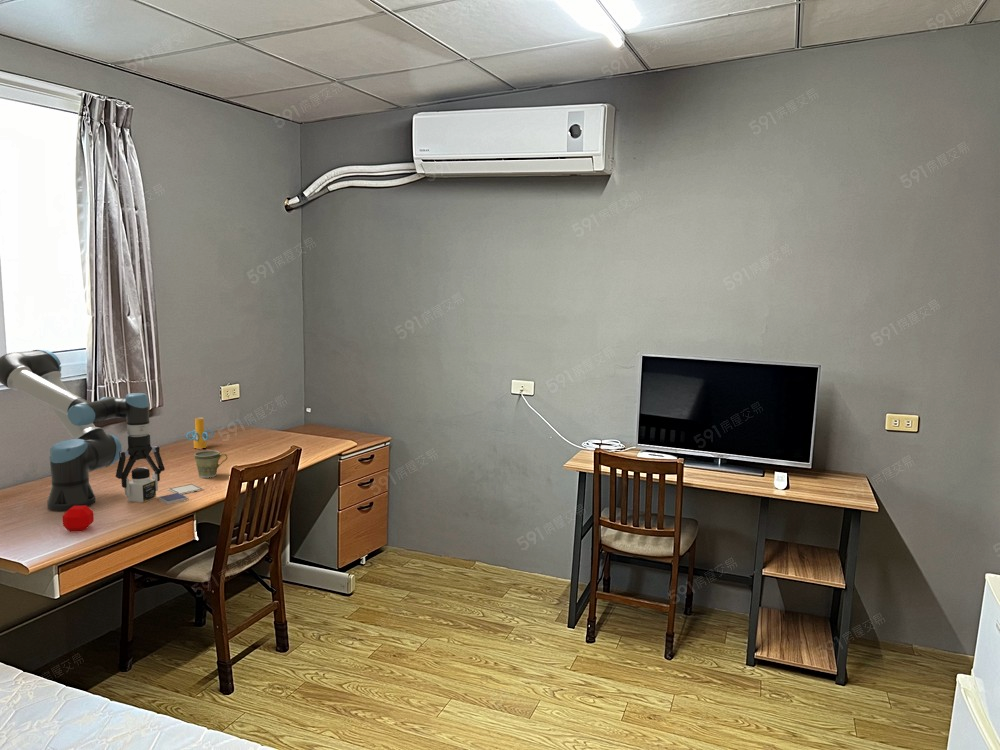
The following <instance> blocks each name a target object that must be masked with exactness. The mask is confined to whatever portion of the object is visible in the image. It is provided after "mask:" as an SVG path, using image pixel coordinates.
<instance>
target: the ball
mask: <svg viewBox="0 0 1000 750" xmlns="http://www.w3.org/2000/svg"><path fill="white" fill-rule="evenodd" d="M94 515H95V513H94V510H92V509H91V508H90V506H89V507H88V506H86V505H85V506H73V507H72V508H70V509H69V510H68V511H65V513H64V514H63V515H62V527H64V529H66V530H67V531H68V532H71V531H81V532H84V531H86V529H88V528H89V526H90V525H92V524H93V523H94V522H95V519H94V518H95V517H94ZM87 527H88V528H87ZM71 533H72V532H71Z"/></svg>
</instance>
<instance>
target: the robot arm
mask: <svg viewBox="0 0 1000 750" xmlns="http://www.w3.org/2000/svg"><path fill="white" fill-rule="evenodd" d="M61 378H62V366H61V360H60V358H59V357H58V355H56V354H55V353H54V352H52V351H49V350H46V349H33V350H29V351H17V352H9V353H6V354H3V355H2V356H0V384H1V385H3V386H5V387H6V388H8V389H10V390H12V391H20V392H21V393H24V394H27V396H30V397H32V398H33V399H36V400H38V401H40V402H42V403H44V404H45V405H48V407H49V408H50V409H51V411H52V412H53V414H54V415H55V416H56V418H57V419H58V420H59V422H60V423H61V424H62V426H63V428H64V429H65V430H66V431H67V433H68V434H69V436H70V437H71V438H72V439H68V440H67V439H66V440H63V441H62V440H61V441H59V442H57V443H54V444H53V445H52V446H51V448H50V450H49V464H50V476H51V489H50V492H49V496H48V498H47V503H46V504H47V509H48V510H49V511H53V512H67V511H68V510H69V509H70V508H72V507H73V506H85V505H86V506H88V507H89V508H90V507H92V506H93V505H95V504H96V495H95V492H94V491H93V488H92V485H91V484H90V477H89V476H90V475H89V473H90V472H93V471H96V470H100V469H103V468H107V467H110V466H111V465H113V464H116V463H117V462H118V463H117V469H116V472H115V478H117V479H118V480H119V479H120V481H121V487H122V488H123V489H124V496H126V497H127V496H130V488H129V482H130V479H129V478H128V477H129V474H130V473H131V471H132V468H133V467H134V464H135V463H136V461H139V460H145V461H147V463H148V464H149V466H150V468H151V469H152V470H153V472H152V473H151V475H152V478H151V479H155V484H156V492H158V491H159V488H158V487H159V486H158V483H159V482H160V481H161V478H160V477H161V476H160V475H161V473H162V472H164V471H165V465H164V462H163V459H162V457H161V453H160V446H158V445H153V446H151V435H150V433H151V428H150V427H151V426H150V425H151V424H150V403H149V402H150V401H149V396H148V394H146V393H143V392H132V393H131V392H130V393H127V394H126V395H125V398H124V397H115V396H103V397H101V398H100V399H98V400H95V401H89V400H86V399H84V398H82V397H80V396H79V395H77V394H75V393H73V392H70V391H69V389H68V388H67V387H66V385H65V383H64V382H63V381H62V380H61ZM116 418H117V419H126V428H127V429H126V430H127V431H126V432H127V433H126V434H127V435H128V436H127V450H123V447H122V443H121V440H120V439H119V438H118V437H117V436H116V435H115V434H110V433H109V434H108V433H106V432H105V429H103V427H97V426H95V424H94V423H99V422H103V421H107V420H111V419H116ZM122 450H123V451H122ZM151 451H152V453H153V455H154V458H155V461H156V463H155V462H154V460H153V459H152V456H151V455H150V453H151ZM128 455H129V457H128V461H127V463H126V458H127V456H128ZM125 463H126V465H125ZM156 464H157V465H156Z"/></svg>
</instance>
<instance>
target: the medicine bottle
mask: <svg viewBox="0 0 1000 750" xmlns="http://www.w3.org/2000/svg"><path fill="white" fill-rule="evenodd" d="M150 471H151V470H150V468H148V467H143V466H141V467H136V468H134V469H131V481H129V488H130V496H126V498H127V502H130V501H132V503H133V502H134V503H141V502H142V504H143V503H146V501H147V502H149V501H150V500H153V499H155V497H157V491H156V484H155V479H152V478H151V475H150Z"/></svg>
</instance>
